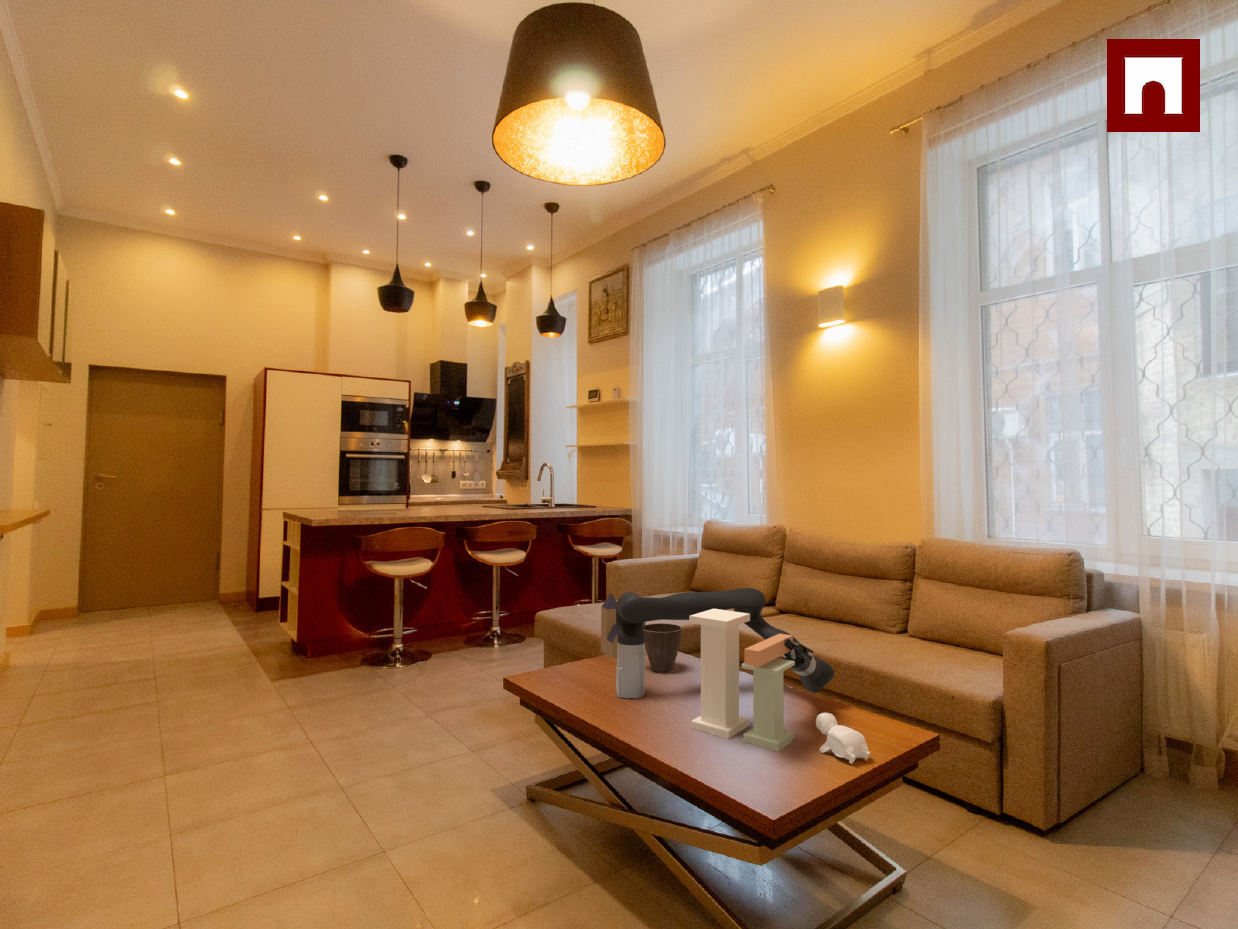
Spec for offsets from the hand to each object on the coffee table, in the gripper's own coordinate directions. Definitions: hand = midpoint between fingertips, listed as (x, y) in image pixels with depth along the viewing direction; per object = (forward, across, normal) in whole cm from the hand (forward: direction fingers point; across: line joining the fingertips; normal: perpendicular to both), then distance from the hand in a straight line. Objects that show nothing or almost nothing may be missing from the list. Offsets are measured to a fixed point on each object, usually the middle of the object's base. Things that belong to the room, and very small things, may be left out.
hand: (778, 640), depth 172 cm
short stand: (-7, 0, +26) cm, 27 cm away
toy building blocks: (-47, -85, +3) cm, 97 cm away
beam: (+3, 0, +6) cm, 7 cm away
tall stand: (-7, -15, +26) cm, 31 cm away
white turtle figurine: (-11, +18, +24) cm, 32 cm away
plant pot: (-37, -60, +9) cm, 71 cm away
